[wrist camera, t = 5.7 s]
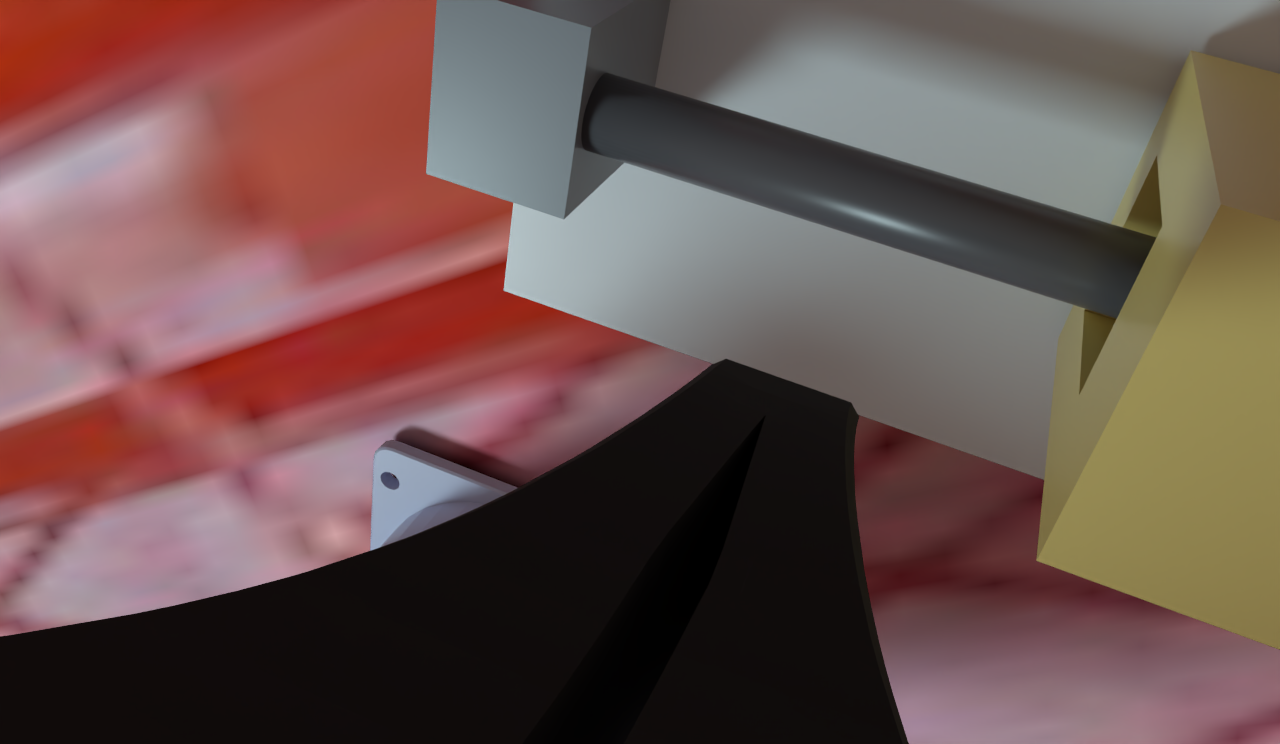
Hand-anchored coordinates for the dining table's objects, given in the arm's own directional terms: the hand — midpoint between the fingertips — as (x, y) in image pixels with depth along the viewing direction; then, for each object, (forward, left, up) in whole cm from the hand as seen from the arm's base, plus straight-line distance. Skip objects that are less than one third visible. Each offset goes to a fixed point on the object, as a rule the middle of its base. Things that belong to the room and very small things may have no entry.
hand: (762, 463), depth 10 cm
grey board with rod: (0, -2, -10) cm, 11 cm away
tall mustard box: (0, -5, -9) cm, 11 cm away
